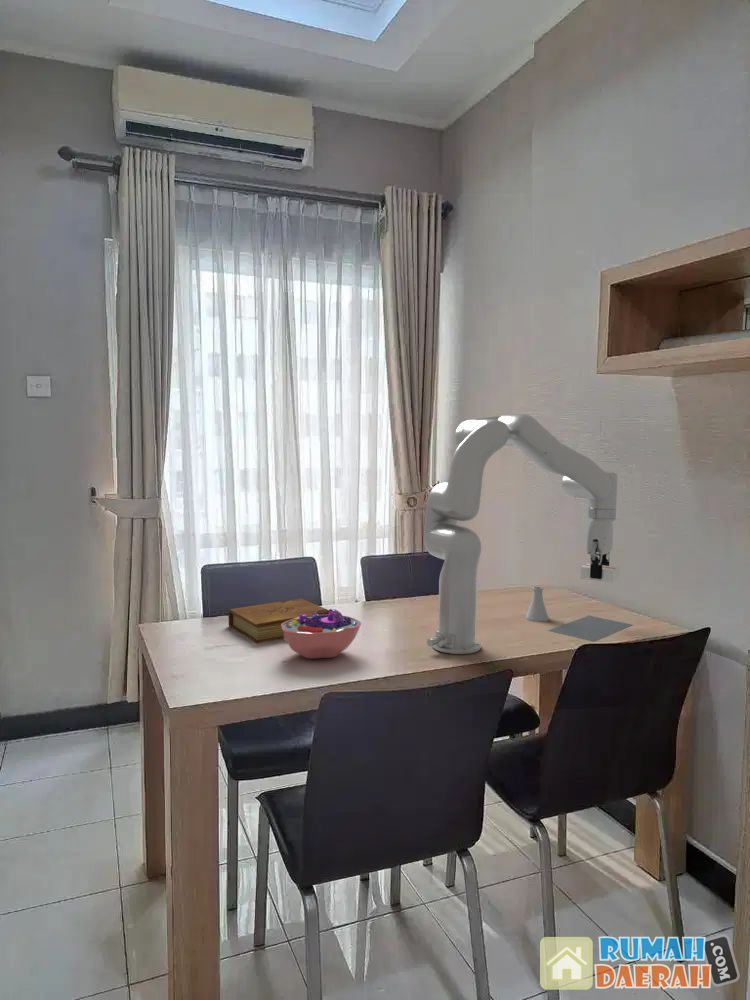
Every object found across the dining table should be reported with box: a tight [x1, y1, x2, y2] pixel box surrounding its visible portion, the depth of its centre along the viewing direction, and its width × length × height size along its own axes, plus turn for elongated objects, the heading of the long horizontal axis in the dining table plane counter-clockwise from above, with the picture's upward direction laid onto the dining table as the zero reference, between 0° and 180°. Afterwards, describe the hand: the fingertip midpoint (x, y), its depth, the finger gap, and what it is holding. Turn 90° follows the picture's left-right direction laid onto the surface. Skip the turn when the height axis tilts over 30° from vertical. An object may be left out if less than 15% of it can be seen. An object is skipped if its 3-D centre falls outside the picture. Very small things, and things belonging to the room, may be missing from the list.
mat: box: [547, 615, 633, 643], centre depth 196 cm, size 24×14×1 cm, turn 135°
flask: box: [524, 586, 550, 623], centre depth 205 cm, size 7×7×10 cm
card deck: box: [580, 563, 620, 584], centre depth 197 cm, size 9×6×4 cm, turn 55°
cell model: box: [281, 608, 362, 660], centre depth 170 cm, size 17×20×11 cm
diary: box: [227, 598, 330, 644], centre depth 193 cm, size 23×19×6 cm
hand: (599, 575), depth 197 cm, fingers closed on card deck, 5 cm apart
